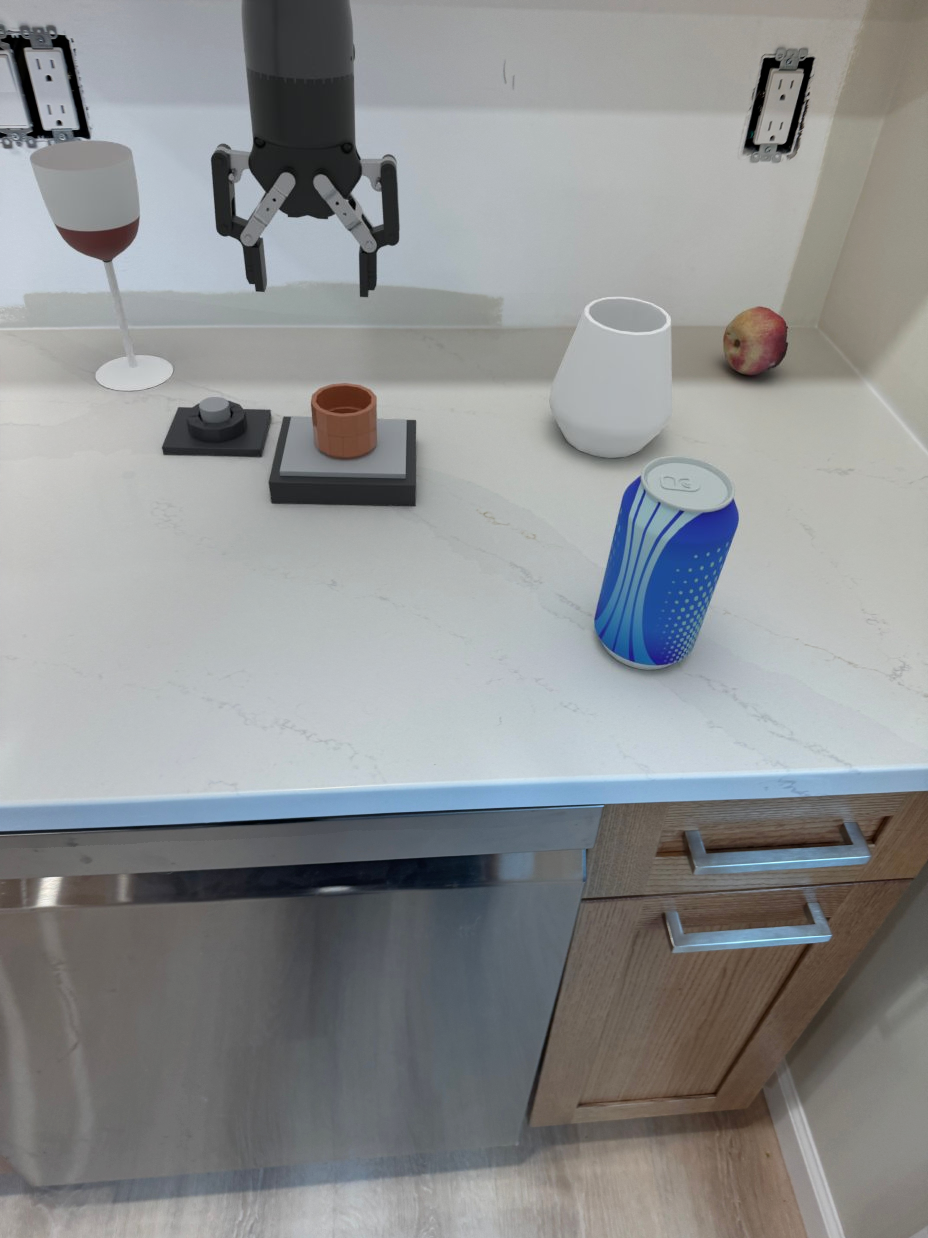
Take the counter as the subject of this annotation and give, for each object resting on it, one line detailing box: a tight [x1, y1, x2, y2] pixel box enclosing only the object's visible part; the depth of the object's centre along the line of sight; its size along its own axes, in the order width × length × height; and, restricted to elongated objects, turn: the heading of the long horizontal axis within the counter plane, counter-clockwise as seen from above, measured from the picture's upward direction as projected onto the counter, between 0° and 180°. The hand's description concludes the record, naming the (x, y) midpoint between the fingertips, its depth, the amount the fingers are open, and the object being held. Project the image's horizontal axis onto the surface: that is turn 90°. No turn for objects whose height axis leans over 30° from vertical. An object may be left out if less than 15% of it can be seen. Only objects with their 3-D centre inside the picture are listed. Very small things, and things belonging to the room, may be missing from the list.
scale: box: [268, 415, 417, 507], centre depth 83 cm, size 14×12×3 cm
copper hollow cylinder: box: [310, 382, 378, 459], centre depth 80 cm, size 6×6×5 cm
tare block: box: [161, 399, 272, 457], centre depth 87 cm, size 10×8×2 cm
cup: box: [548, 296, 673, 459], centre depth 87 cm, size 13×13×14 cm
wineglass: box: [29, 139, 174, 392], centre depth 88 cm, size 9×10×23 cm
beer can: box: [593, 455, 740, 671], centre depth 63 cm, size 8×8×16 cm
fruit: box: [722, 305, 789, 376], centre depth 102 cm, size 8×8×8 cm
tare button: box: [199, 396, 231, 423], centre depth 86 cm, size 3×3×2 cm
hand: (313, 290), depth 69 cm, fingers open, 8 cm apart
